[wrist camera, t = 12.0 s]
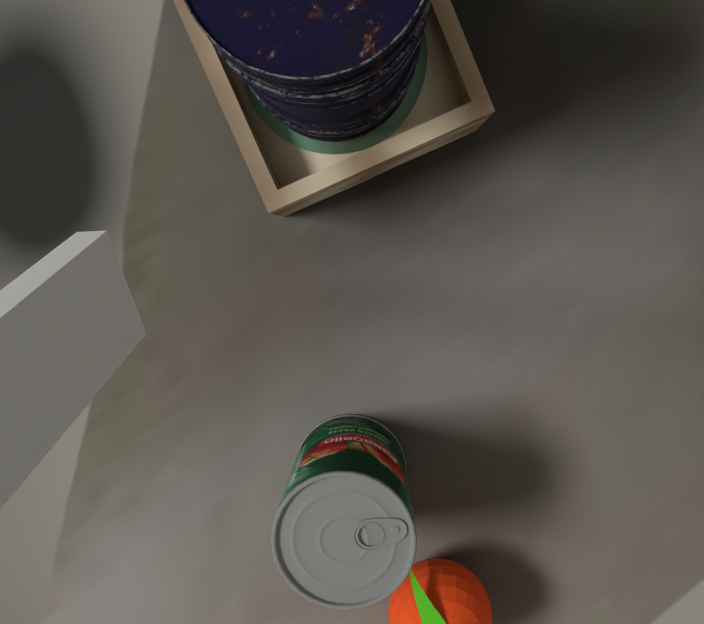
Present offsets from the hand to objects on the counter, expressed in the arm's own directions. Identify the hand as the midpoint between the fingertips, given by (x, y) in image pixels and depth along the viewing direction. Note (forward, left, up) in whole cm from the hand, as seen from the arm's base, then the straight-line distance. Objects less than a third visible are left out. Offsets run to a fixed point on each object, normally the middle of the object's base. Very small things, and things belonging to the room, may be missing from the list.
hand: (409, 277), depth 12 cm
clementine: (+6, +23, -30) cm, 39 cm away
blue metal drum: (-2, -12, -26) cm, 29 cm away
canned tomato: (+8, +13, -30) cm, 34 cm away
